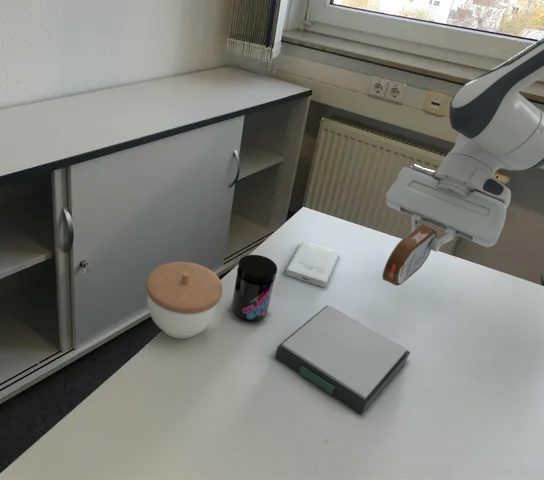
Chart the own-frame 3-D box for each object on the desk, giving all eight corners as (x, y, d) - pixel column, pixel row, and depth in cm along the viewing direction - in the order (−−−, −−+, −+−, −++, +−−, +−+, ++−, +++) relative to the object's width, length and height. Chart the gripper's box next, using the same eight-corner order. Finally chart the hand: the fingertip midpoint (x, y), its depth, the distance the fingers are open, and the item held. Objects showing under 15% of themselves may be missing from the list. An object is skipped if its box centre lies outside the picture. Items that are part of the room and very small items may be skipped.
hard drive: (337, 257, 117) (324, 288, 107) (300, 246, 119) (285, 274, 110) (339, 251, 116) (326, 281, 106) (302, 240, 118) (286, 268, 109)
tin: (414, 256, 103) (426, 216, 98) (431, 262, 101) (443, 223, 97) (377, 287, 93) (387, 246, 89) (394, 295, 92) (406, 253, 87)
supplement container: (231, 322, 96) (240, 276, 90) (229, 298, 102) (237, 253, 96) (269, 325, 96) (280, 279, 91) (264, 301, 102) (274, 256, 96)
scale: (405, 362, 92) (411, 349, 90) (360, 416, 81) (365, 402, 79) (324, 315, 100) (327, 302, 98) (273, 358, 90) (276, 345, 88)
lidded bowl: (161, 358, 87) (165, 305, 81) (133, 309, 97) (136, 259, 91) (229, 339, 92) (238, 289, 86) (196, 295, 102) (202, 246, 96)
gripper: (404, 153, 101) (367, 215, 101) (520, 194, 90) (479, 264, 89) (407, 169, 107) (371, 227, 106) (517, 209, 96) (478, 275, 95)
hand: (422, 244), depth 98 cm, fingers closed on tin, 2 cm apart
